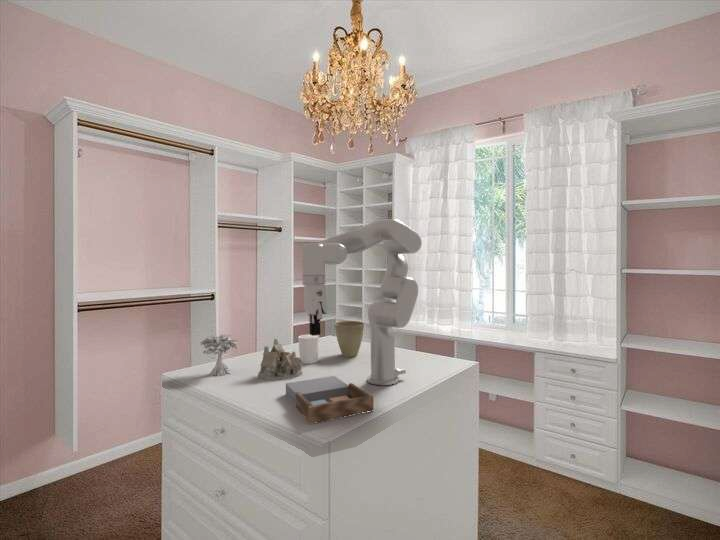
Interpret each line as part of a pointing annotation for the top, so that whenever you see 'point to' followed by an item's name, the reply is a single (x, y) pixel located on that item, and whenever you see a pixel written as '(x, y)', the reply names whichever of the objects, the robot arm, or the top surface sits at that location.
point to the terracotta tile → (338, 398)
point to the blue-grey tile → (318, 402)
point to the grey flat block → (318, 389)
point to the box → (335, 406)
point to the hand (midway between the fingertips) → (315, 334)
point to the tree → (219, 351)
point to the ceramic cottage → (279, 364)
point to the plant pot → (349, 337)
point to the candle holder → (308, 348)
